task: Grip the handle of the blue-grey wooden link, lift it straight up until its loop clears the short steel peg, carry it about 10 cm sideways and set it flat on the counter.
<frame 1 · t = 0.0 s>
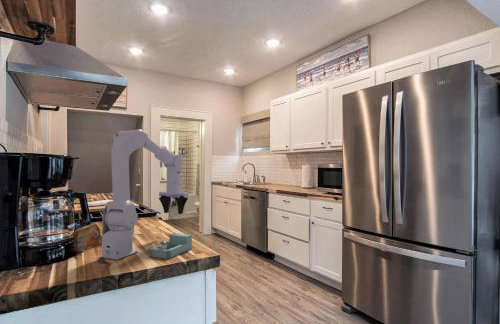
hand: (173, 213, 126), 10 cm above the counter, tool pointing down, fingers open, 7 cm apart
tin: (86, 249, 107), on the counter
link: (170, 252, 102), on the counter
peg: (164, 255, 99), on the counter
canister: (118, 236, 128), on the counter
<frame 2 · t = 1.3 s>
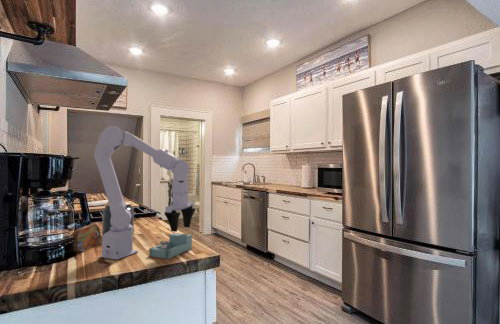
hand: (180, 229, 107), 7 cm above the counter, tool pointing down, fingers open, 7 cm apart
nothing on the counter moved.
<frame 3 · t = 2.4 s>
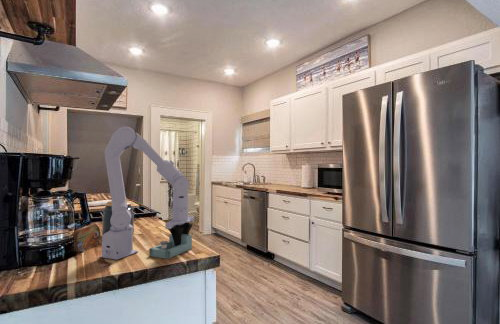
hand: (180, 244, 107), 1 cm above the counter, tool pointing down, fingers closed on link, 3 cm apart
link: (170, 252, 102), on the counter, touching gripper
everything else where it was.
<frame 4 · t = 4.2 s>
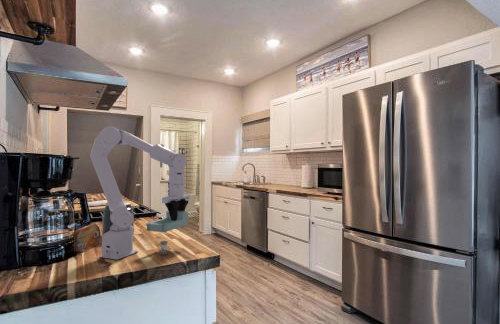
hand: (176, 219, 111), 10 cm above the counter, tool pointing down, fingers closed on link, 3 cm apart
link: (167, 227, 106), point 8 cm above the counter, touching gripper
everything else where it was.
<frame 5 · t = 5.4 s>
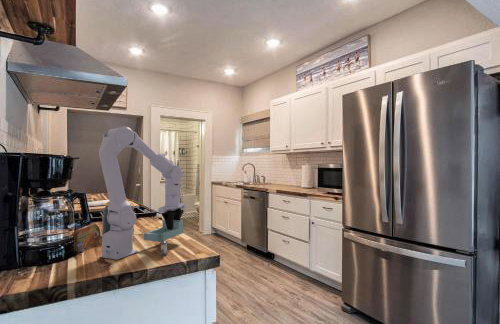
hand: (172, 228, 116), 5 cm above the counter, tool pointing down, fingers closed on link, 3 cm apart
link: (163, 236, 111), point 3 cm above the counter, touching gripper
everything else where it was.
when the fingers open (3 cm above the counter, at t = 6.2 s): link stays where it is, on the counter.
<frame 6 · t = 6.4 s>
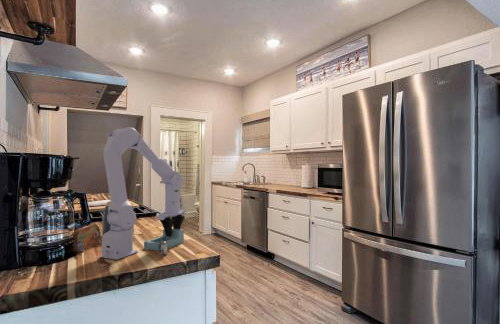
hand: (172, 234, 116), 3 cm above the counter, tool pointing down, fingers open, 4 cm apart
link: (164, 245, 111), on the counter
everything else where it was.
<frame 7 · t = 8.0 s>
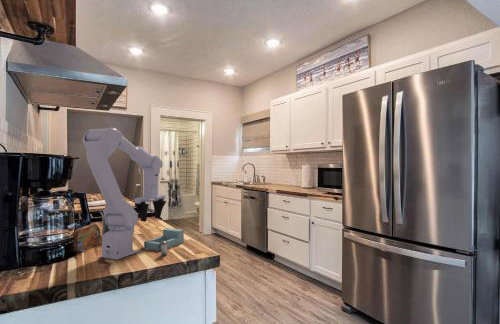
hand: (150, 219, 115), 9 cm above the counter, tool pointing down, fingers open, 7 cm apart
nothing on the counter moved.
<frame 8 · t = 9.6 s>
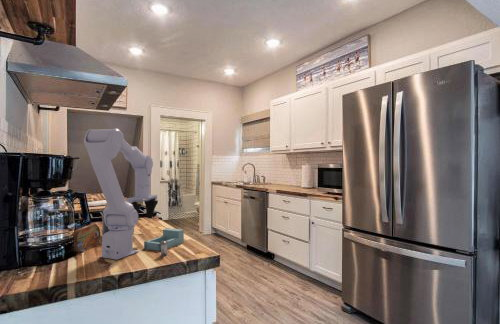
hand: (142, 219, 115), 9 cm above the counter, tool pointing down, fingers open, 7 cm apart
nothing on the counter moved.
at the end: link 0.2 cm from the target spot, on the counter; link touching counter; link tilted 0° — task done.
